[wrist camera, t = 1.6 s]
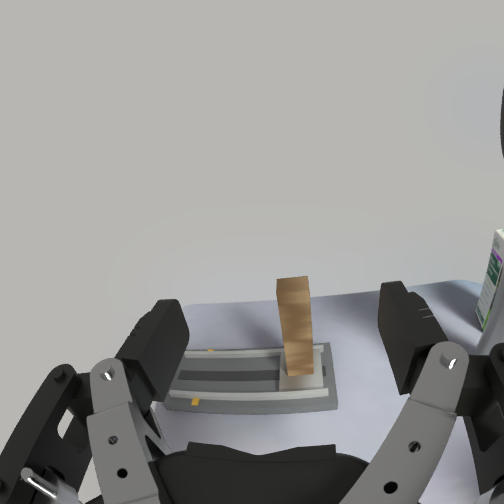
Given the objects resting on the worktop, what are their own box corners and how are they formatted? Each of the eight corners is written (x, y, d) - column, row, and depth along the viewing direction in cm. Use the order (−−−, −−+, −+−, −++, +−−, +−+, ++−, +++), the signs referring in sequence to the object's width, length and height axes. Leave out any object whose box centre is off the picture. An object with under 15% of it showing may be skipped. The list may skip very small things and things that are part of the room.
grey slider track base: (329, 349, 36) (329, 338, 35) (337, 409, 27) (338, 398, 26) (185, 356, 39) (181, 345, 39) (166, 409, 31) (159, 399, 30)
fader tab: (319, 352, 34) (315, 265, 28) (323, 388, 28) (322, 299, 23) (281, 355, 35) (267, 270, 29) (279, 392, 29) (263, 305, 24)
